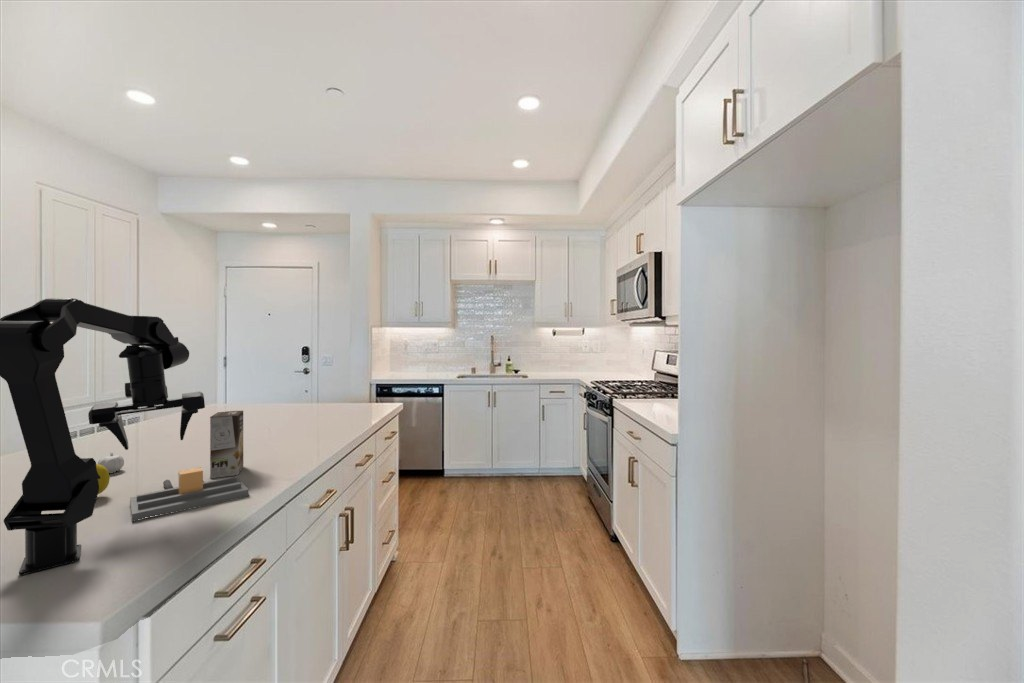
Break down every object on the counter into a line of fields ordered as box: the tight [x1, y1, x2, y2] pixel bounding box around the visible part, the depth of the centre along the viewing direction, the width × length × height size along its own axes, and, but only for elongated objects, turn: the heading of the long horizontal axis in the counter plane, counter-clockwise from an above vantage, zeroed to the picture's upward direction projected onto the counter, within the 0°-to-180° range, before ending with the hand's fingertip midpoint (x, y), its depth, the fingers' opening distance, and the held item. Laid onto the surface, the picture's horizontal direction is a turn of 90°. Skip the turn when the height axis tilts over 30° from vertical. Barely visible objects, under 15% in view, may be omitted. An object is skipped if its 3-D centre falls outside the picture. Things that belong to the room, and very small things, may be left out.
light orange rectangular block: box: [178, 467, 204, 494], centre depth 95 cm, size 3×4×5 cm
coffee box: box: [209, 410, 244, 479], centre depth 115 cm, size 9×6×16 cm
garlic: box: [97, 452, 125, 474], centre depth 115 cm, size 6×5×5 cm
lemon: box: [96, 463, 111, 495], centre depth 96 cm, size 6×6×8 cm
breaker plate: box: [129, 476, 250, 522], centre depth 95 cm, size 12×20×2 cm, turn 133°
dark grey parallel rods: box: [162, 479, 205, 490], centre depth 103 cm, size 11×7×1 cm
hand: (155, 444), depth 93 cm, fingers open, 9 cm apart
